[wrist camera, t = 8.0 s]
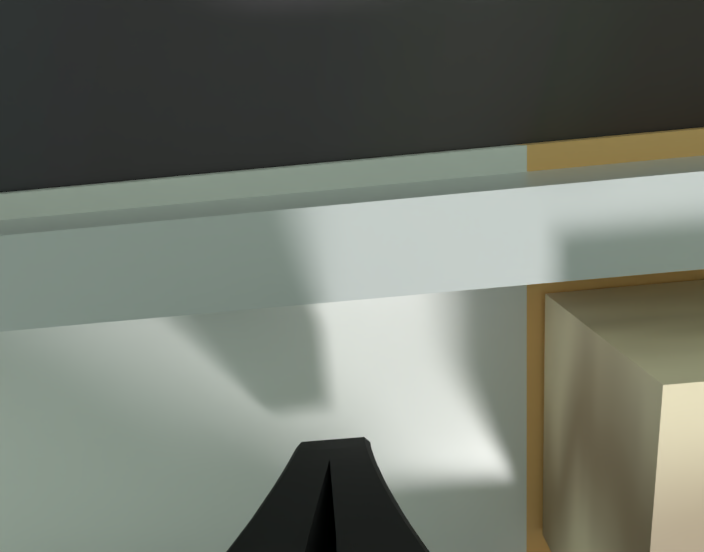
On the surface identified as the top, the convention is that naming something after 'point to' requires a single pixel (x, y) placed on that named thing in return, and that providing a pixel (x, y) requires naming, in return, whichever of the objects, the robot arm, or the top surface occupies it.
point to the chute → (312, 333)
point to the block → (624, 419)
